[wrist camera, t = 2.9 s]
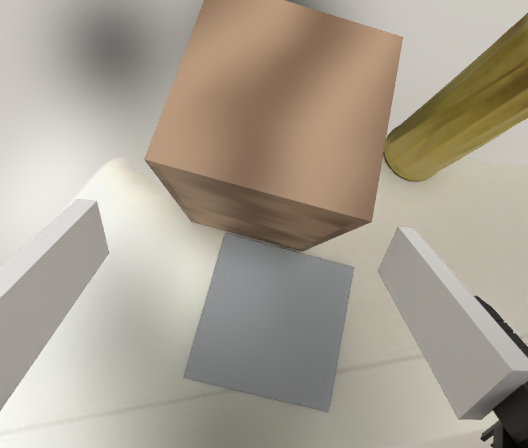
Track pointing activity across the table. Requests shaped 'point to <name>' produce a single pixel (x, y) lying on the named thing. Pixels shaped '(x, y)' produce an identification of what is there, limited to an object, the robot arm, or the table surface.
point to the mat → (272, 323)
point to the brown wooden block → (277, 121)
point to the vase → (465, 110)
